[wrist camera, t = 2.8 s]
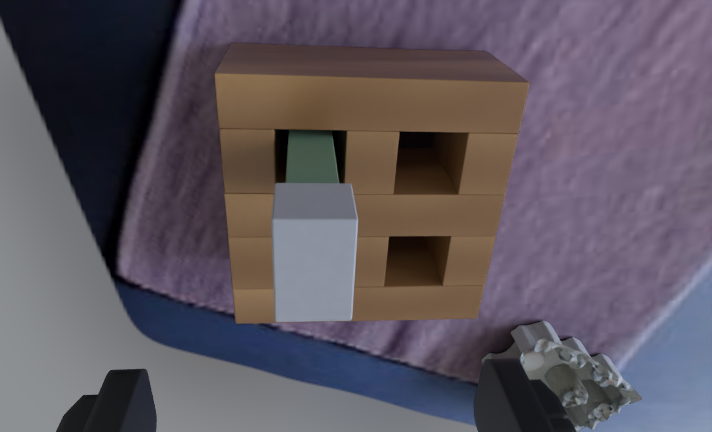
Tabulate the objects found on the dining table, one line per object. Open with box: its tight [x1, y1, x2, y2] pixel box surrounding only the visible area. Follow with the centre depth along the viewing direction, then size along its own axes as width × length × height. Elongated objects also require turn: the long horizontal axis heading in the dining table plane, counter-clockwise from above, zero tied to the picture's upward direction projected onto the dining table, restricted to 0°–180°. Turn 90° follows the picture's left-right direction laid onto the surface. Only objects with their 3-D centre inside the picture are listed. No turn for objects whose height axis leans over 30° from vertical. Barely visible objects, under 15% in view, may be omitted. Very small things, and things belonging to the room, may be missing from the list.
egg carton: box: [481, 321, 642, 432], centre depth 39 cm, size 11×8×4 cm
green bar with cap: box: [271, 129, 358, 322], centre depth 22 cm, size 4×3×14 cm, turn 177°
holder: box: [214, 43, 530, 324], centre depth 28 cm, size 14×14×6 cm
